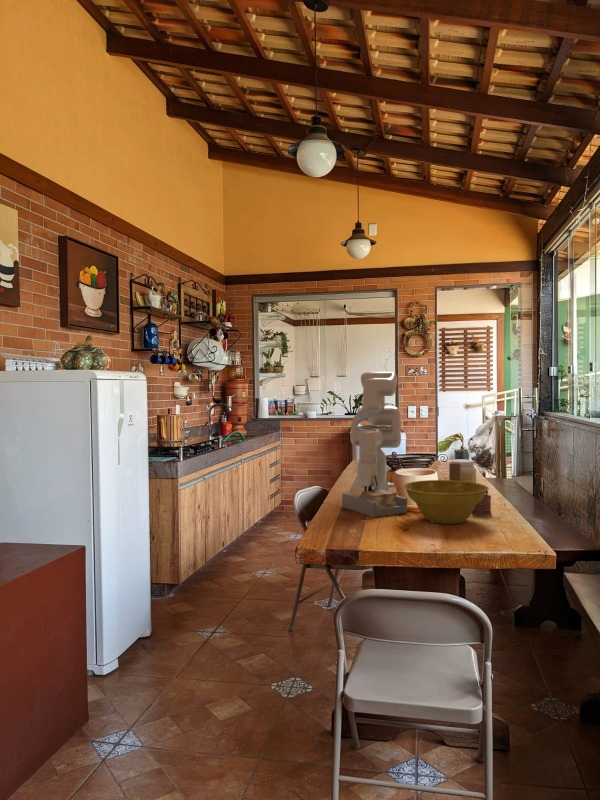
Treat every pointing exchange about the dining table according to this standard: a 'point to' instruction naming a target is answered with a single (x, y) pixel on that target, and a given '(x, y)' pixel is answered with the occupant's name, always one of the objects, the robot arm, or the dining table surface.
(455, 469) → the wooden block
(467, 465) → the supplement tub
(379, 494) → the crate
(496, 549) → the dining table surface
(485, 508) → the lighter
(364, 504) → the bay
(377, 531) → the dining table surface
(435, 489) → the planter bowl
